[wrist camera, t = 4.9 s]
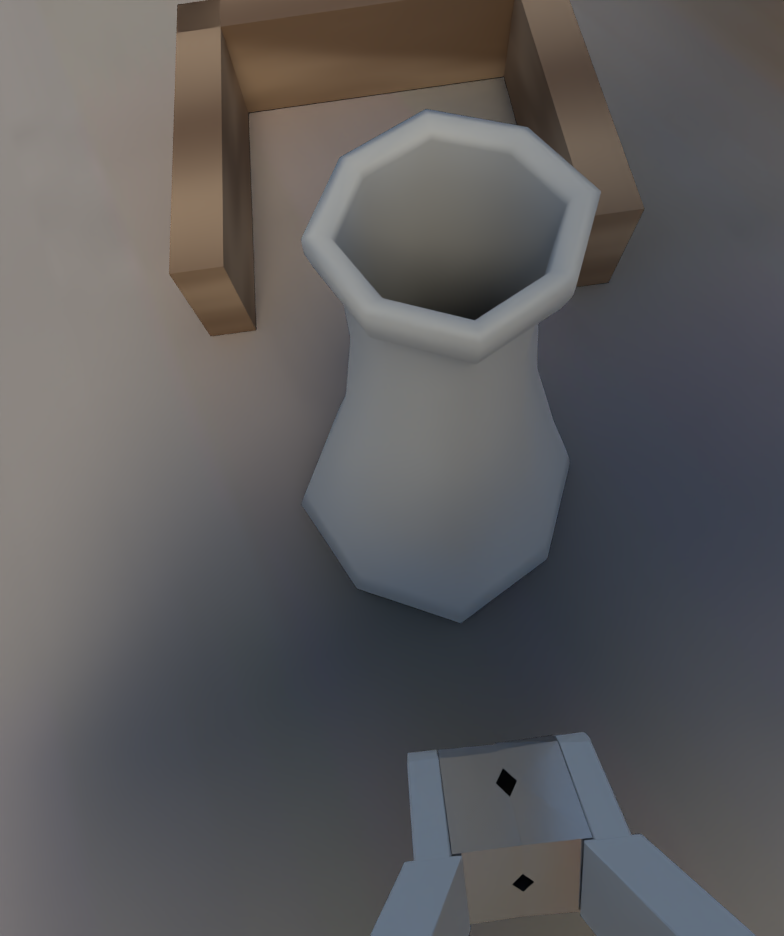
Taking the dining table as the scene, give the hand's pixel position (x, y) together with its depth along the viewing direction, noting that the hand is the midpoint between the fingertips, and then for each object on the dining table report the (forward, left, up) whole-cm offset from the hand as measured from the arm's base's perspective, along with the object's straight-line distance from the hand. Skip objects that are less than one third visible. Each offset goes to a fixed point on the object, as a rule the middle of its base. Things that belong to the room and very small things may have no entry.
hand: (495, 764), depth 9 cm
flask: (-5, -4, -5) cm, 8 cm away
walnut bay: (-14, -11, -4) cm, 18 cm away
